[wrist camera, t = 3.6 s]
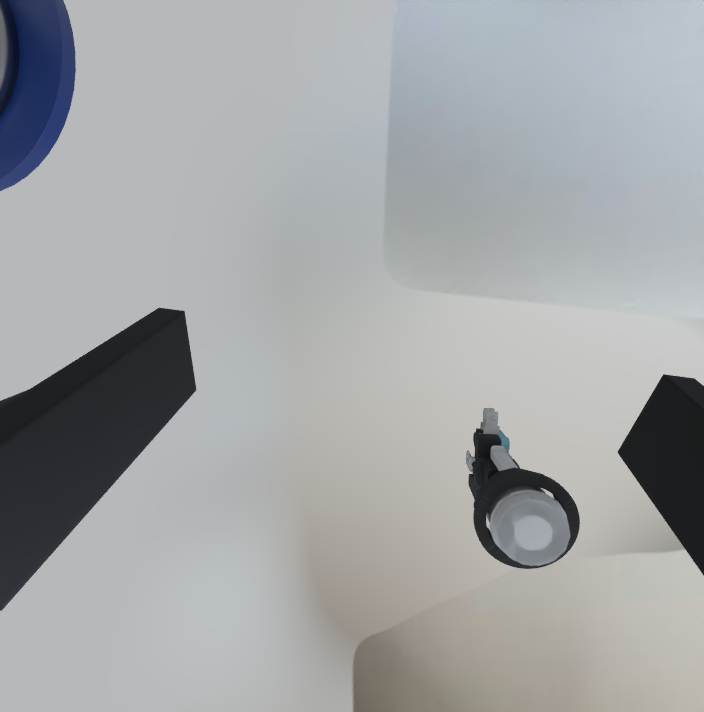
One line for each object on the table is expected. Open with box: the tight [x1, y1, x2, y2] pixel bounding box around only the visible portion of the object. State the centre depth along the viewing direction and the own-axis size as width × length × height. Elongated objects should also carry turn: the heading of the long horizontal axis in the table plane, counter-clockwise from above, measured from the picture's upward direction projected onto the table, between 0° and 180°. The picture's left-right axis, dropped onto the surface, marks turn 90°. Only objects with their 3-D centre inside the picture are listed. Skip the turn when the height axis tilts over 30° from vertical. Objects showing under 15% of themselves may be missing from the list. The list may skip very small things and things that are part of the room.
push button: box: [466, 408, 580, 569], centre depth 24 cm, size 7×5×10 cm
